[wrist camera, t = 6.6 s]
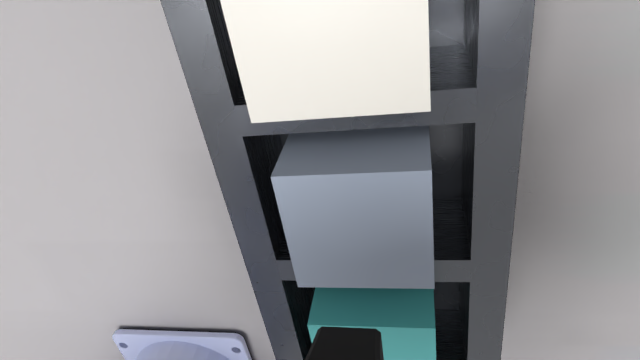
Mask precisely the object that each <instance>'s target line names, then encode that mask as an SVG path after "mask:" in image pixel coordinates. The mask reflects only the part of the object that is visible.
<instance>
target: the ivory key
mask: <svg viewBox="0 0 640 360" xmlns="http://www.w3.org/2000/svg"><path fill="white" fill-rule="evenodd" d="M220 2H221V6H222V10H223V14H224V18H225V22H226V26H227V30H228V34H229V37H230V41H231V45H232V49H233V53H234V57H235V61H236V65H237V69H238V73H239V77H240V81H241V84H242V88H243V92H244V96H245V100H246V104H247V108H248V112H249V116H250V120H251V123H262V122H277V121H293V120H308V119H323V118H339V117H354V116H369V115H384V114H400V113H415V112H430V111H431V99H430V56H429V13H428V0H220Z"/></svg>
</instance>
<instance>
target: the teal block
mask: <svg viewBox="0 0 640 360" xmlns="http://www.w3.org/2000/svg"><path fill="white" fill-rule="evenodd" d="M307 326H308V330H309V334H310V338H311V342H312V343H313V340H314V338H315V335H316V333H317V330H318V329H319V328H320V327H322V326H324V327H348V328H372V329H377V330H378V331H380V332H381V338H382V347H383V357H384V360H436V327H435V308H434V289H400V288H319V287H315V292H314V296H313V301H312V305H311V310H310V314H309V319H308V323H307Z"/></svg>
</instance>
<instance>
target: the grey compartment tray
mask: <svg viewBox="0 0 640 360" xmlns="http://www.w3.org/2000/svg"><path fill="white" fill-rule="evenodd" d="M160 1H161V4H162V7H163V10H164V13H165V16H166V19H167V23H168V26H169V29H170V32H171V35H172V38H173V41H174V44H175V47H176V51H177V54H178V57H179V60H180V63H181V66H182V69H183V72H184V75H185V78H186V82H187V85H188V88H189V91H190V94H191V97H192V100H193V103H194V106H195V110H196V113H197V116H198V119H199V122H200V125H201V128H202V131H203V134H204V137H205V141H206V144H207V147H208V150H209V153H210V156H211V159H212V162H213V165H214V169H215V172H216V175H217V178H218V181H219V184H220V187H221V190H222V193H223V196H224V200H225V203H226V206H227V209H228V212H229V215H230V218H231V221H232V224H233V228H234V231H235V234H236V237H237V240H238V243H239V246H240V249H241V252H242V255H243V259H244V262H245V265H246V268H247V271H248V274H249V277H250V280H251V283H252V287H253V290H254V293H255V296H256V299H257V302H258V305H259V308H260V311H261V314H262V318H263V321H264V324H265V327H266V330H267V333H268V336H269V339H270V342H271V346H272V349H273V352H274V355H275V358H276V360H305V358H306V356H307V354H308V352H309V349H310V347H311V345H312V342H311V338H310V334H309V330H308V326H307V323H308V319H309V314H310V310H311V305H312V301H313V296H314V292H315V287H298V286H297V282H296V278H295V274H294V270H293V266H292V261H291V257H290V253H289V249H288V245H287V241H286V237H285V233H284V229H283V225H282V221H281V217H280V213H279V209H278V205H277V201H276V197H275V193H274V189H273V185H272V181H271V175H272V172H273V170H274V168H275V165H276V163H277V161H278V158H279V156H280V154H281V151H282V149H283V147H284V145H285V142H286V140H287V138H288V135H289V134H293V133H310V132H327V131H344V130H360V129H377V128H394V127H411V126H428V125H429V136H430V151H431V166H432V199H433V241H434V283H435V289H434V308H435V327H436V360H501V350H502V340H503V329H504V319H505V308H506V298H507V288H508V277H509V267H510V256H511V246H512V235H513V225H514V214H515V204H516V193H517V183H518V173H519V162H520V152H521V141H522V131H523V120H524V110H525V99H526V89H527V79H528V68H529V58H530V47H531V37H532V26H533V16H534V5H535V0H428V13H429V56H430V99H431V111H430V112H415V113H400V114H384V115H369V116H354V117H339V118H323V119H308V120H293V121H277V122H262V123H251V120H250V116H249V112H248V108H247V104H246V100H245V96H244V92H243V88H242V84H241V81H240V77H239V73H238V69H237V65H236V61H235V57H234V53H233V49H232V45H231V41H230V37H229V34H228V30H227V26H226V22H225V18H224V14H223V10H222V6H221V2H220V0H160Z"/></svg>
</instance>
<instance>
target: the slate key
mask: <svg viewBox="0 0 640 360" xmlns="http://www.w3.org/2000/svg"><path fill="white" fill-rule="evenodd" d="M271 181H272V185H273V189H274V193H275V197H276V201H277V205H278V209H279V213H280V217H281V221H282V225H283V229H284V233H285V237H286V241H287V245H288V249H289V253H290V257H291V261H292V266H293V270H294V274H295V278H296V282H297V286H298V287H319V288H400V289H435V283H434V241H433V199H432V166H431V151H430V136H429V125H428V126H411V127H394V128H377V129H360V130H344V131H327V132H310V133H293V134H289V135H288V138H287V140H286V142H285V145H284V147H283V149H282V151H281V154H280V156H279V158H278V161H277V163H276V165H275V168H274V170H273V172H272V175H271Z"/></svg>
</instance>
